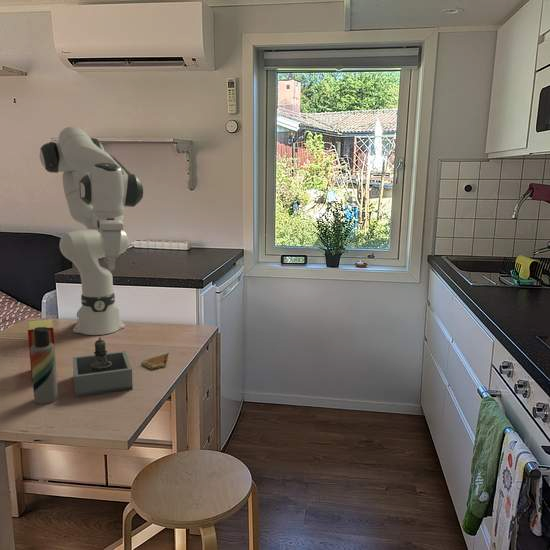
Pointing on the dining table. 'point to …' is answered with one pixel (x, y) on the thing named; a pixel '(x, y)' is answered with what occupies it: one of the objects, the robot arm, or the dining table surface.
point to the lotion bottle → (43, 367)
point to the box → (102, 375)
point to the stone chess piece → (100, 357)
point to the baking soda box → (35, 324)
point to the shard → (156, 361)
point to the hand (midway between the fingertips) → (109, 266)
